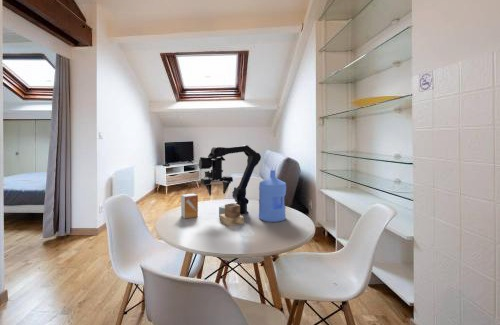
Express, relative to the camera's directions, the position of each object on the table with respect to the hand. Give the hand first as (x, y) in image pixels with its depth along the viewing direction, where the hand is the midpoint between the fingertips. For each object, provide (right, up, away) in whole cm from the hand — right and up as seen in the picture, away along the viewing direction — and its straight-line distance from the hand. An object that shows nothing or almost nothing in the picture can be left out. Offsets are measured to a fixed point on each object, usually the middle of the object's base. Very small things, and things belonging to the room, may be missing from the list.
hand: (217, 194), depth 151 cm
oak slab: (+9, -15, -9) cm, 20 cm away
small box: (-16, -13, 0) cm, 21 cm away
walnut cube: (+10, -11, -9) cm, 17 cm away
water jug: (+32, -14, -2) cm, 35 cm away
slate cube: (+5, -13, 0) cm, 14 cm away
